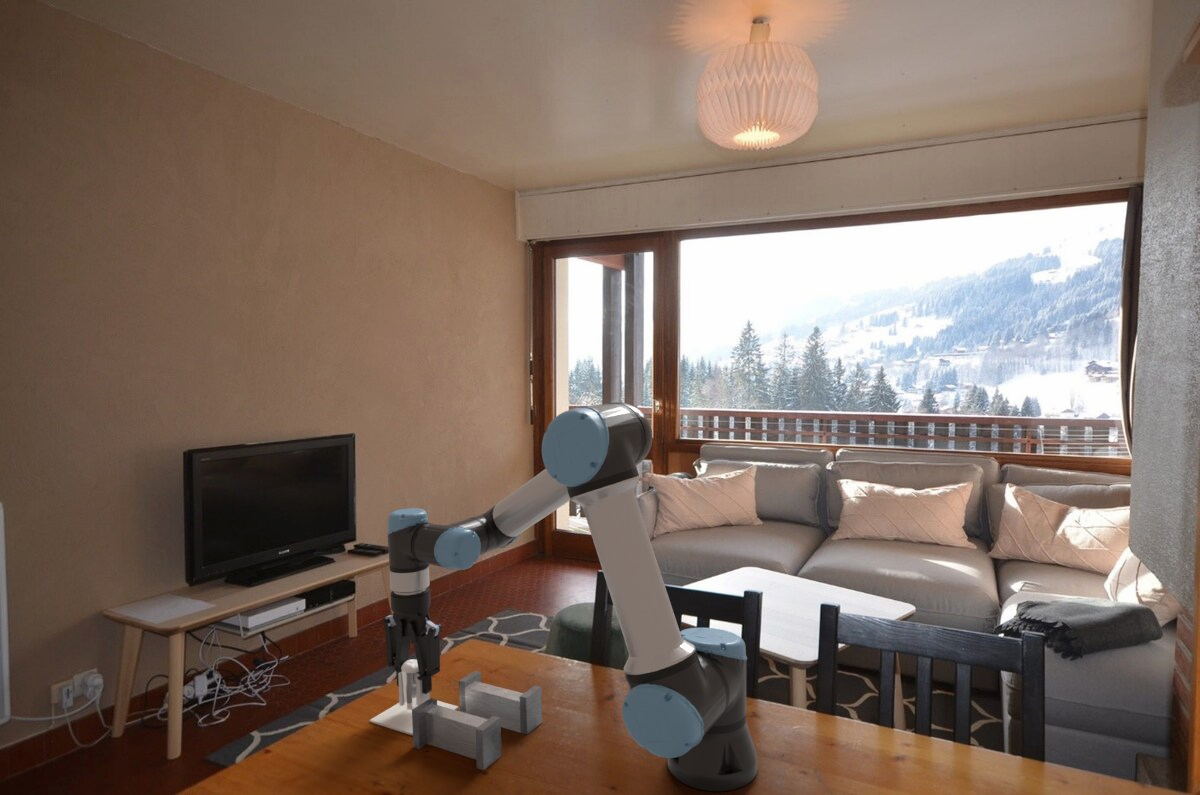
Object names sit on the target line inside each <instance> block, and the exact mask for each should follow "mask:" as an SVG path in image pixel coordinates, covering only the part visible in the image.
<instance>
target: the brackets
mask: <svg viewBox="0 0 1200 795" xmlns="http://www.w3.org/2000/svg"><path fill="white" fill-rule="evenodd" d="M458 694H459V710H453V709H449V708H446V707H442V706H439V705H437V701H438V699H436V698H433V697H430V699H428V700H427V701H425V702H424V703H422V704H420V705H419V706H417V707H416V708H414V709H412V727H413V735H412V745H413V748H414V749H417V750H421V749H422V748H424V747H425V746H427V745H430V746H433V747H435V748H439V749H441V750H445V751H448V752H451V753H455V754H458V755H461V756H462V757H463V756H464V757H466V758H470V759H472V760H476V769H479V770H482V771H485V770H486V769H487V768H490V767H489V766H491V765H492V764H493V763H495V762H496V761H497V760H498V759H500V758H501V757H502V735H501V734H502V733H501V732H502V731H501V730H502V729H507V730H509V731H512V732H513V731H514V732H517V733H520V734H524V735H529V734H530V733H531V732H532V731H534V730H535V729H536V728H538V726H539V725H541V724H542V723H543V708H542V707H543V706H542V704H543V703H542V686H538V685H535V684H534V685H533V686H532V687H530V688H529V689H528V690H526V691H525V692H520V691H516V690H512V689H507V688H504V687H500V686H496V685H494V684H493V685H492V684H489V683H484V682H482V672H481V671H479V670H474V671H472V672H470V673H469V674H467V675H465V676H464V677H463V678H461V679H459V680H458Z"/></svg>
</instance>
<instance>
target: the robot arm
mask: <svg viewBox="0 0 1200 795" xmlns="http://www.w3.org/2000/svg"><path fill="white" fill-rule="evenodd" d="M652 444H653V429H652V425H651V423H650V421H649V418H648V417H647V416H646V415H645V413H643V412H642V410H641V409H639V408H638V407H636V406H634V405H632V404H631V403H630V404H629V403H625V402H621V401H620V402H616V401H615V402H610V403H609V402H608V403H606V404H605V403H604V404H595V405H593V404H592V405H582V406H578V407H574V408H571V409H568V410H566V411H563V412H561V413H559V414H558V415H557V416H555V417H554V418H553V419H552V421H550V422H549V424H548V426H547V428H546V431H545V432H544V435H543V438H542V442H541V456H542V461H543V464H544V469H543V470H542V471H540V472H539V473H538V474H537V475H535V476H533V477H532V478H531V479H529V480H528V481H526V482H525V483H523V484H522V485H521V486H520V487H518V488H517V489H516V490H514V491H513V492H511V493H510V494H509V495H506V497H504V498H503V499H502V500H500V501H498V503H495V505H494V506H492V507H491V508H489V509H488V510H486V511H484V513H481V514H479V515H476V516H473V517H469V518H466V519H463V520H459V521H456V522H453V523H450V524H435V523H431V522H429V518H428V513H427V511H426V510H425V509H423V508H416V507H411V508H401V509H397V510H393V511H391V513H389V515H388V518H387V533H386V535H387V544H388V545H387V547H388V564H389V565H388V566H389V568H388V569H389V589H390V590H391V592H390V595H389V596H390V610H391V611H392V614H389V615H387V616H385V617H383V618H382V624H383V628H384V632H385V633H384V634H385V648H386V663H387V666H388V667H389V668H394V672H395V674H396V686H397V688H398V701H399V702H398V703H399V704H400V706H403V705H405V704H404V691H403V679H402V670H401V667H402V665H403V664H404V663H405V662H406V661H407V660H409V656H410V648H411V644H412V645H413V647H414V652H415V653H414V654H415V658H416V659H417V664H418V669H419V674H420V676H418V677H417V702H418V706H419V705H420V704H422V703H424V702H425V701H427V700H428V699H430V698H431V692H432V690H433V686H432V685H433V683H432V682H433V681H432V680H433V679H432V677H433V676H435V675H436V674H438V673H440V671H441V652H440V651H441V650H440V649H441V645H440V644H441V643H440V638H441V633H442V629H443V626H442V624H441V623H438V624H435V622H432V621H431V620H432V619H431V616H430V614H429V611H430V607H431V605H432V604H431V603H432V601H431V600H432V598H431V589H430V588H429V587H430V585H431V584H430V581H431V580H430V565H432V566H436V567H442V568H445V569H447V570H448V569H449V570H461V571H465V570H467V569H471V568H472V566H473V565H474V564H475V563H476V562H477V561H478V559H479V557H480V556H483V555H484V554H486V553H490V552H493V551H495V550H498V549H503V548H506V547H508V546H509V545H511V544H513V543H515V542H516V541H517V540H518V539H519V537H520V534H522V533H524V532H525V531H527V530H528V529H529V528H530V527H531V528H532V526H534V525H535V524H537V523H538V522H540V521H541V520H543V519H544V518H547V516H549V515H550V514H552V513H554V512H555V511H556V510H558V509H559V508H561V507H563V506H564V505H565V504H567V503H569V502H570V501H571V502H574V503H575V504H577V505H579V506H580V507H582V509H583V510H582V511H583V514H584V516H585V518H586V523H587V525H588V529H589V531H590V535H591V538H592V540H593V545H594V547H595V550H596V554H597V557H598V560H599V563H600V567H601V570H602V573H603V576H604V579H605V581H606V586H607V589H608V591H609V592H608V593H609V594H610V598H611V601H612V605H613V607H614V611H615V614H616V617H617V620H618V623H619V627H620V629H621V632H622V637H623V639H624V643H625V646H626V649H627V653H628V659H627V660H626V662H625V664H624V667H623V673H624V675H625V678H626V682H627V685H628V689H629V691H627V693H626V695H625V698H624V702H623V703H622V712H621V714H622V718H623V722H624V725H625V727H626V730H627V732H628V734H629V735H630V737H632V739H633V741H635V743H636V744H638V745H639V746H640V748H644V749H646V750H647V751H648V753H650V754H652V755H653V756H656V757H659V758H664V759H665V758H666V759H667V768H668V770H669V771H670V772H669V773H670V774H671V775H672V776H673V777H674V778H675V779H677V780H678V781H679V782H681V783H683V784H684V785H687V786H689V787H691V788H694V789H698V790H701V791H708V792H709V791H710V792H726V791H727V792H728V791H733V790H736V789H740V788H742V787H745V786H747V785H748V784H749V783H751V782H752V781H753V780H754V779H755V777H756V775H757V773H758V755H757V751H756V748H755V745H754V742H753V740H752V736H751V733H750V730H749V727H748V724H747V660H748V656H747V654H746V653H747V650H746V648H747V647H746V643H745V641H744V639H743V638H742V637H740V636H739V635H737V634H736V633H734V632H731V631H728V630H725V629H720V628H714V627H713V628H712V627H691V628H685V629H682V630H681V631H680V628H679V625H678V622H677V618H676V616H675V613H674V609H673V607H672V603H671V601H670V597H669V594H668V591H667V588H666V584H665V582H664V579H663V577H662V576H663V575H662V572H661V569H660V567H659V564H658V561H657V557H656V555H655V551H654V549H653V545H652V542H651V539H650V535H649V533H648V530H647V526H646V524H645V521H644V520H645V519H644V517H643V514H642V511H641V507H640V505H639V502H638V499H637V496H636V493H635V489H636V487H637V484H638V482H639V480H640V477H641V476H640V473H639V472H638V467H637V466H638V465H640V464H641V463H642V462H643V461H644V460H645V459H646V457H648V455H649V452H651V451H650V450H651V448H652Z"/></svg>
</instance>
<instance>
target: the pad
mask: <svg viewBox="0 0 1200 795" xmlns="http://www.w3.org/2000/svg"><path fill="white" fill-rule="evenodd" d="M437 705H439V706H442V707H446V708H449V709H453V710H456V711H458V710H460V705H459V706H458V705H456V704H455V705H454V704H451V703H449V702H448V703H447V702H444V701H440V700H437ZM369 722H370V723H371V724H375V725H378V726H381V727H385V728H388V729H390V730H394V731H398V732H400V733H404V734H407V735H410V736H413V727H412V710H408V709H406V708H405V705H403V706H400V704H399V702H397V703H396V704H394V705H393V706H390V708H387V709H385V710H384V711H382V712H381V713H379V714H378V715H375V716H374V717H372V718H371V719H369Z"/></svg>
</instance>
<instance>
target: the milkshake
mask: <svg viewBox="0 0 1200 795" xmlns="http://www.w3.org/2000/svg"><path fill="white" fill-rule="evenodd" d="M401 670H402V679H403V691H404V704H405V708H406V709H408V710H412V709H414V708H416V707H417V706H418V702H417V677H418V676H420V674H419V669H418V664H417V659H415V658H413V659H410V658H409V659H408V660H407V661H406V662H405V663H404V664H403V665H402V667H401Z"/></svg>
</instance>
